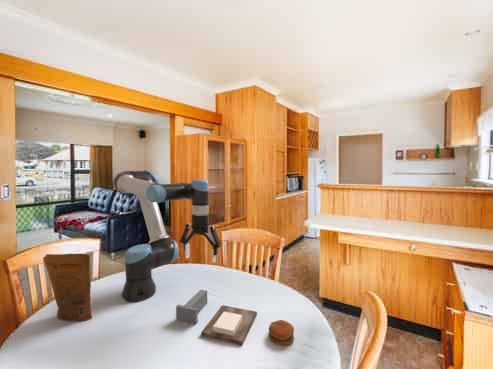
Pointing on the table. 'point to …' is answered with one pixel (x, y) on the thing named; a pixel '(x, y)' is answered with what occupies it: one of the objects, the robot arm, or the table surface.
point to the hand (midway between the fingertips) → (200, 259)
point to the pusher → (192, 308)
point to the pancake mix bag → (70, 285)
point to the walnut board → (241, 331)
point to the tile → (227, 323)
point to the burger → (281, 332)
